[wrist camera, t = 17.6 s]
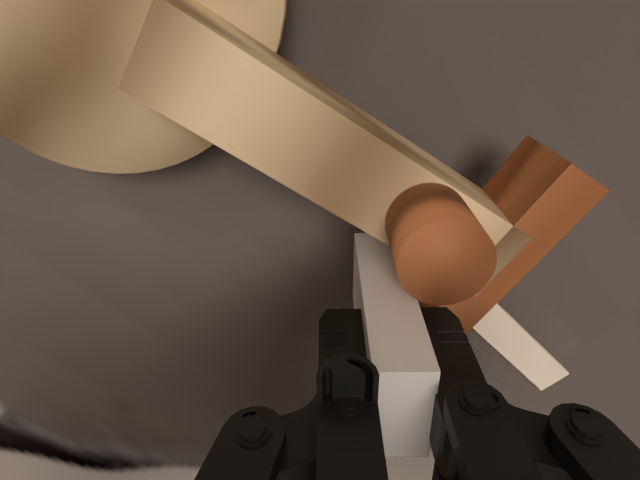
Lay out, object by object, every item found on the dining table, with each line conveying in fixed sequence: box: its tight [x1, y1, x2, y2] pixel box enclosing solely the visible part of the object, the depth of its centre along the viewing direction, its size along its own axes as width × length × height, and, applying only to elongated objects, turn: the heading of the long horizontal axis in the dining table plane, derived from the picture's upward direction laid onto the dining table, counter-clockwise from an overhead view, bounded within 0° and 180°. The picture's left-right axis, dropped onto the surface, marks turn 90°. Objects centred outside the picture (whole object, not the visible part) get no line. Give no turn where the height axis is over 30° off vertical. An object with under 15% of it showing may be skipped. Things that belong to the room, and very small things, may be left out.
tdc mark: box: [473, 303, 569, 391], centre depth 24 cm, size 8×2×1 cm, turn 46°
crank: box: [0, 0, 609, 334], centre depth 12 cm, size 22×12×7 cm, turn 58°
